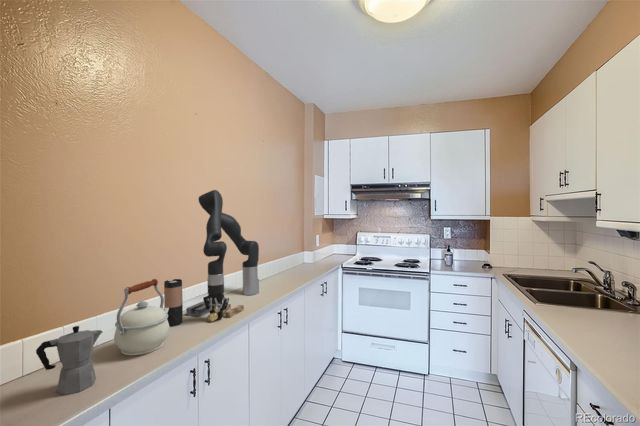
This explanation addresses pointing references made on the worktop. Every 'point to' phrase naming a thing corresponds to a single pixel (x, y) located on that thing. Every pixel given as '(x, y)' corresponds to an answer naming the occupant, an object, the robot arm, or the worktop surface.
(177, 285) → the travel mug
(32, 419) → the worktop surface
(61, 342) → the coffeepot
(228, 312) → the parallel bars
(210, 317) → the axle
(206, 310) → the v block
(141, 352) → the kettle
